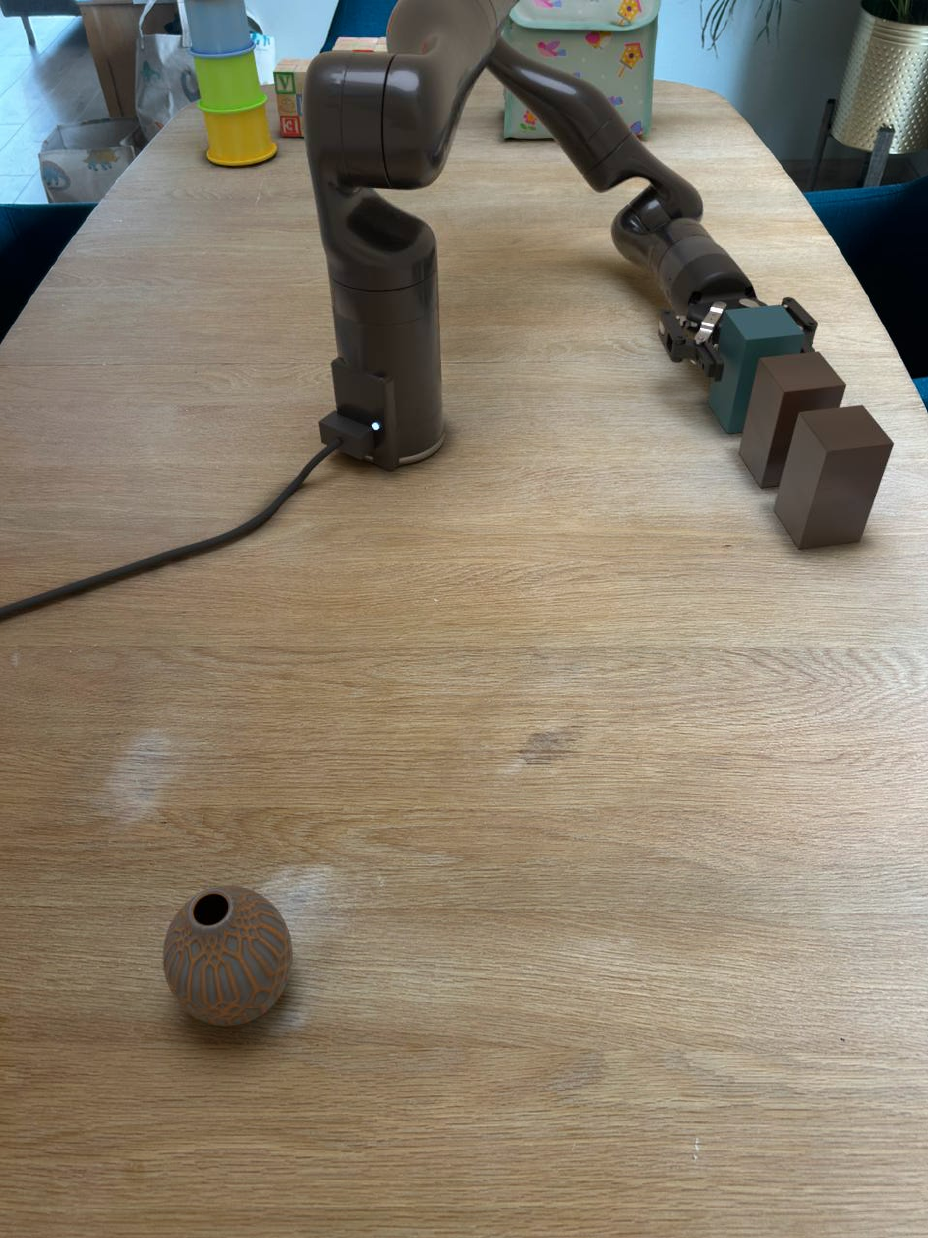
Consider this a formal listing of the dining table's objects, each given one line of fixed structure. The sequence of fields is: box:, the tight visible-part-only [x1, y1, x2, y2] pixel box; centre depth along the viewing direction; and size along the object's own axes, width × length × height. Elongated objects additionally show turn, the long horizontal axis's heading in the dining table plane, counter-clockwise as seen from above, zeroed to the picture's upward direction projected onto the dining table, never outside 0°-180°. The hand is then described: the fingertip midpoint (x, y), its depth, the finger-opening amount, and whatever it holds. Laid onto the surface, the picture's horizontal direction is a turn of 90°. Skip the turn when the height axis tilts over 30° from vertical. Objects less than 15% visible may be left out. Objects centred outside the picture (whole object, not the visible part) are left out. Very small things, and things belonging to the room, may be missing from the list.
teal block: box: [707, 304, 804, 435], centre depth 94 cm, size 6×6×10 cm
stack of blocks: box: [272, 36, 387, 138], centre depth 149 cm, size 21×6×12 cm, turn 84°
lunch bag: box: [501, 0, 662, 140], centre depth 144 cm, size 23×16×27 cm
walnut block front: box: [773, 404, 895, 550], centre depth 82 cm, size 6×6×10 cm
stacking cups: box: [183, 0, 278, 167], centre depth 135 cm, size 10×10×35 cm
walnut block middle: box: [738, 351, 847, 489], centre depth 88 cm, size 6×6×10 cm
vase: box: [162, 885, 294, 1027], centre depth 55 cm, size 7×7×9 cm
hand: (764, 368), depth 92 cm, fingers open, 8 cm apart
